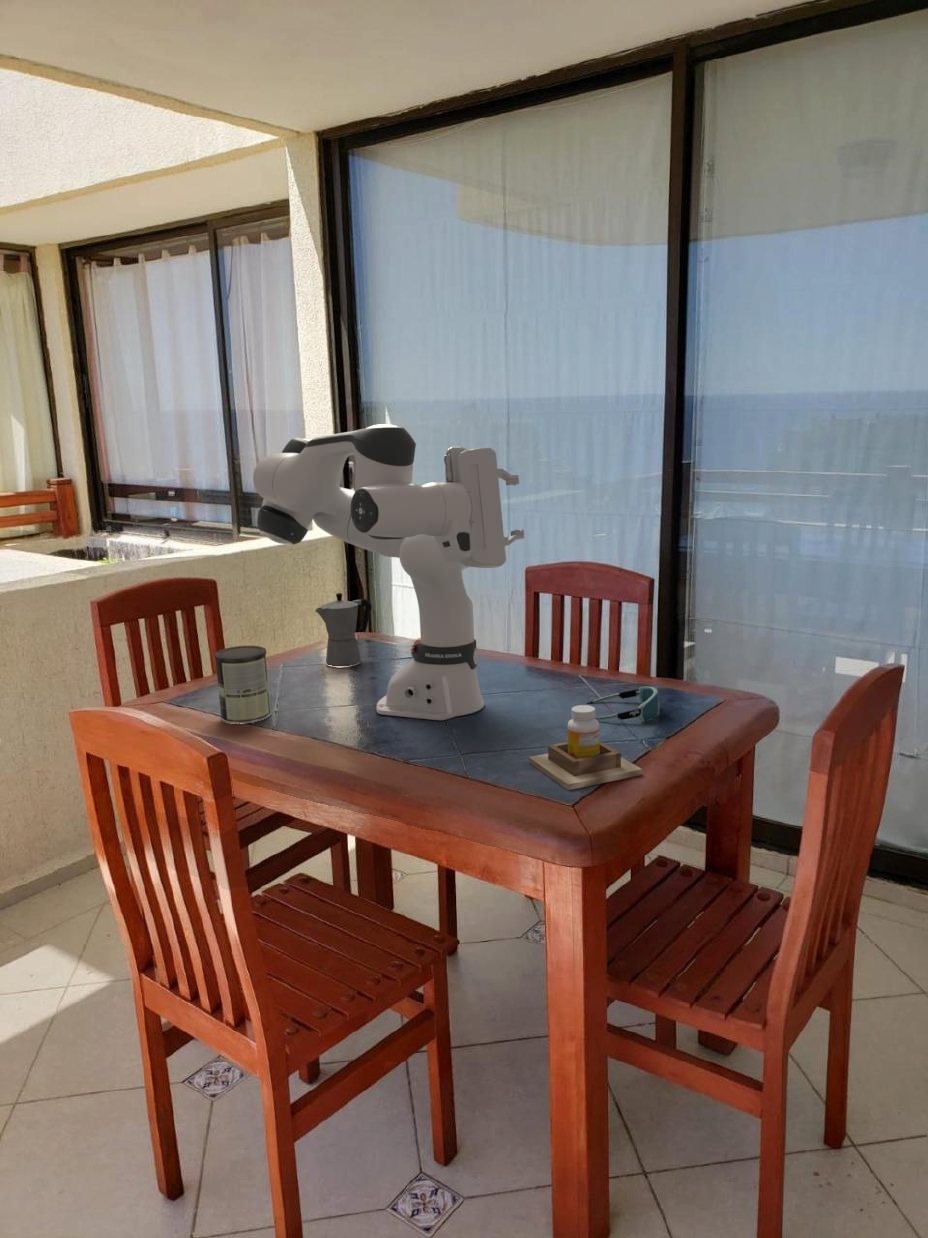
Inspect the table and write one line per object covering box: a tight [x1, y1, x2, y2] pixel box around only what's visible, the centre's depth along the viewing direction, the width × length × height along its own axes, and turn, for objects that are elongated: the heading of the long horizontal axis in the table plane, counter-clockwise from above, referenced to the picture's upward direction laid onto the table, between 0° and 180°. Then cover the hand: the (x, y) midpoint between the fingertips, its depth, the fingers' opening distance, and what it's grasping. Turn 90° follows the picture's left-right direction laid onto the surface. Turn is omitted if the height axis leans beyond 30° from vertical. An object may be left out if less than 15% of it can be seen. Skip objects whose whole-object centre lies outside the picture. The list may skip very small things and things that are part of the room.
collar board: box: [528, 740, 643, 791], centre depth 159 cm, size 14×14×4 cm
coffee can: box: [214, 645, 272, 724], centre depth 192 cm, size 10×10×14 cm
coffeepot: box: [315, 592, 373, 666], centre depth 232 cm, size 15×9×18 cm, turn 125°
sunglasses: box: [586, 686, 660, 723], centre depth 188 cm, size 14×15×5 cm
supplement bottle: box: [567, 704, 601, 759], centre depth 158 cm, size 5×5×10 cm
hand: (519, 507), depth 161 cm, fingers open, 8 cm apart
